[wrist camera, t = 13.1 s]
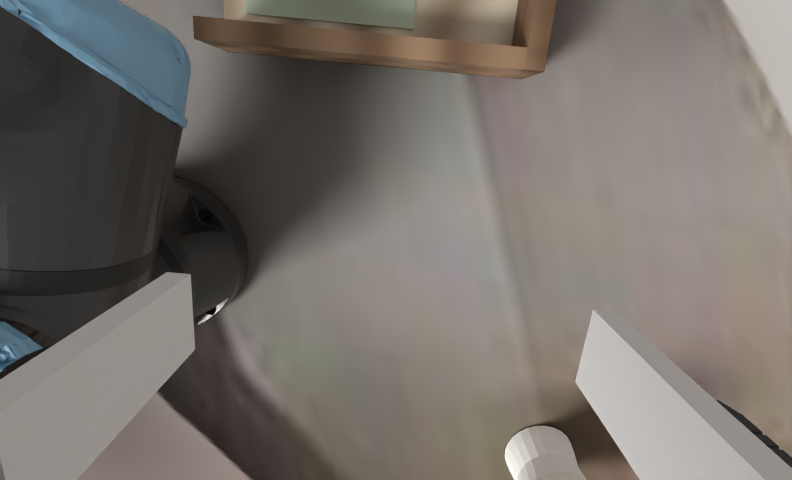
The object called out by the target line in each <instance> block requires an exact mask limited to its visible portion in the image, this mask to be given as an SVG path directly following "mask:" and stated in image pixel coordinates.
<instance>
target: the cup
mask: <svg viewBox="0 0 792 480" xmlns="http://www.w3.org/2000/svg"><path fill="white" fill-rule="evenodd" d="M505 460H506V463H507V466H508V468H509V470H510V472H511V474H512V476H513V478H514V480H587V479H586V478H585V477H584V475H583V474H582V472H581V471H580V469H579V468H578V464H577V461H576V457H575V454H574V451H573V448H572V445H571V442H570V441H569V439H568V437H567V436H566V435H565V434H564V433H563V432H561V431H560V430H558V429H556V428H553V427H549V426H533V427H529V428H526V429H524V430H522V431H520V432H518V433H517V434H516V435H514V436H513V437H512V438H511V440H510V441H509V442H508V444H507V447H506V449H505Z"/></svg>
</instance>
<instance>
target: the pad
mask: <svg viewBox="0 0 792 480" xmlns="http://www.w3.org/2000/svg"><path fill="white" fill-rule="evenodd" d="M414 9H415V0H246V13H247V14H252V15H262V16H273V17H283V18H294V19H304V20H315V21H325V22H336V23H346V24H357V25H367V26H378V27H389V28H399V29H410V30H413V20H414Z"/></svg>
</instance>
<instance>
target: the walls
mask: <svg viewBox="0 0 792 480" xmlns="http://www.w3.org/2000/svg"><path fill="white" fill-rule="evenodd" d="M556 3H557V0H518V5H517V12H516V18H515V24H514V31H513V37H512V44H511V46H506V45H496V44H485V43H475V42H464V41H454V40H443V39H432V38H422V37H411V36H401V35H390V34H380V33H369V32H359V31H348V30H337V29H327V28H316V27H306V26H295V25H285V24H274V23H263V22H253V21H242V20H232V19H221V18H211V17H200V16H193V26H194V39H197V40H199V41H202V42H204V43H207V44H209V45H212V46H215V47H217V48H220V49H222V50H225V51H227V52H237V53H247V54H258V55H269V56H279V57H290V58H301V59H311V60H322V61H333V62H343V63H354V64H365V65H375V66H386V67H397V68H407V69H418V70H429V71H439V72H450V73H460V74H471V75H482V76H492V77H503V78H514V79H524V78H527V77H529V76H532V75H535V74H538V73H541V72H544V70H545V65H546V59H547V53H548V48H549V42H550V36H551V31H552V25H553V20H554V14H555V8H556Z"/></svg>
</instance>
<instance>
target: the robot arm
mask: <svg viewBox="0 0 792 480" xmlns="http://www.w3.org/2000/svg"><path fill="white" fill-rule="evenodd" d="M190 74H191V65H190V59H189V56H188V54H187V51H186V49H185V47H184V46H183V45H182V43H181V42H180V40H179V39H178V38H177V37H176V36H175V35H174V34H173V33H171V32H170V31H169V30H167V29H166V28H165V27H163V26H161V25H160V24H158V23H157V22H155V21H153V20H151V19H150V18H148V17H146V16H145V15H143V14H141V13H139V12H138V11H136V10H134V9H132V8H130V7H129V6H127V5H125V4H123V3H121V2H120V1H118V0H0V480H77V479H78V478H79V477H80V476H81V475H82V473H83V472H84V471H85V470H86V469H87V468H88V467H89V466H90V465H91V464H92V462H93V461H94V460H95V459H96V458H97V457H98V456H99V455H100V454H101V453H102V451H103V450H104V449H105V448H106V447H107V446H108V445H109V444H110V442H111V441H112V440H113V439H114V438H115V437H116V436H117V435H118V434H119V433H120V431H121V430H122V429H123V428H124V427H125V426H126V425H127V424H128V423H129V422H130V420H131V419H132V418H133V417H134V416H135V415H136V414H137V413H138V412H139V411H140V409H141V408H142V407H143V406H144V405H145V404H146V403H147V402H148V401H149V400H150V398H151V397H152V396H153V395H154V394H155V393H156V392H157V391H158V390H159V388H160V387H161V386H162V385H163V384H164V383H165V382H166V381H167V380H168V379H169V377H170V376H171V375H172V374H173V373H174V372H175V371H176V370H177V369H178V367H179V366H180V365H181V364H182V363H183V362H184V361H185V360H186V359H187V358H188V356H189V355H190V354H191V353H192V352H193V351H194V350H195V340H194V326H196V325H198V324H201V323H203V322H205V321H207V320H209V319H211V318H212V317H214V316H215V315H217V314H218V313H219V312H220V311H222V310H223V309H224V308H225V307H226V306H227V304H228V303H229V302H230V301H231V300H232V299H233V298H234V297H235V296H236V294H237V293H238V291H239V290H240V288H241V286H242V284H243V282H244V279H245V275H246V271H247V264H248V254H247V246H246V242H245V238H244V235H243V232H242V230H241V228H240V226H239V224H238V222H237V220H236V219H235V217H234V215H233V214H232V213H231V211H230V210H229V209H228V208H227V207H226V205H225V204H224V203H223V202H222V201H221V200H219V199H218V198H217V197H216V196H215V195H213V194H212V193H211V192H209V191H208V190H206V189H205V188H203V187H201V186H199V185H197V184H195V183H193V182H190V181H187V180H184V179H181V178H176V177H172V176H173V172H174V167H175V162H176V158H177V153H178V149H179V144H180V140H181V135H182V130H183V127H184V128H186V126H187V119H186V118H185V110H186V102H187V94H188V87H189V81H190ZM575 382H576V384H577V385H578V387H579V388H580V390H581V391H582V393H583V394H584V396H585V397H586V399H587V400H588V402H589V403H590V405H591V407H592V408H593V410H594V411H595V413H596V414H597V416H598V417H599V419H600V420H601V422H602V423H603V425H604V426H605V428H606V429H607V431H608V432H609V434H610V435H611V437H612V438H613V440H614V441H615V443H616V444H617V446H618V447H619V449H620V450H621V452H622V453H623V455H624V456H625V458H626V459H627V461H628V462H629V464H630V466H631V467H632V469H633V470H634V472H635V473H636V475H637V476H638V478H639V479H640V480H792V457H790V456H789V455H788V454H787V453H786V452H785V451H784V450H780V449H779V446H778V445H777V444H775V443H774V442H773V441H772V440H771V439H770V438H769V437H767V436H766V435H763V434H762V431H760V430H759V429H758V428H757V427H756V426H755V425H754V424H752V423H751V422H750V421H749V420H748V419H747V418H745V417H744V416H743V415H742V414H740V413H738V412H737V411H735V410H733V409H732V408H730V407H728V406H727V405H725V404H723V403H722V402H720V401H719V400H715V399H714V398H713V397H711V396H710V395H709V394H708V393H707V392H706V391H705V390H704V389H703V388H701V387H700V386H699V385H698V384H697V383H696V382H695V381H694V380H692V379H691V378H690V377H689V376H688V375H687V374H686V373H685V372H683V371H682V370H681V369H680V368H679V367H678V366H677V365H676V364H675V363H673V362H672V361H671V360H670V359H669V358H668V357H667V356H666V355H664V354H663V353H662V352H661V351H660V350H659V349H658V348H657V347H655V346H654V345H653V344H652V343H651V342H650V341H649V340H648V339H647V338H645V337H644V336H643V335H642V334H641V333H640V332H639V331H638V330H636V329H635V328H634V327H633V326H632V325H631V324H630V323H629V322H628V321H626V320H625V319H624V318H623V317H622V316H621V315H620V314H619V313H617V312H615V311H604V310H593V312H592V316H591V320H590V324H589V328H588V332H587V336H586V340H585V344H584V348H583V353H582V357H581V361H580V365H579V369H578V373H577V377H576V381H575Z"/></svg>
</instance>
